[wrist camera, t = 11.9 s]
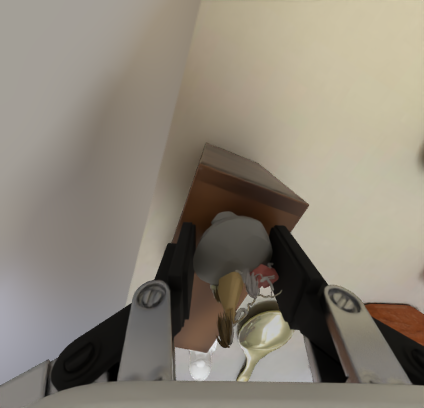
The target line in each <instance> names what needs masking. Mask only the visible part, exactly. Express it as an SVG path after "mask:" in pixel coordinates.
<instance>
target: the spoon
mask: <svg viewBox="0 0 424 408" xmlns="http://www.w3.org/2000/svg"><path fill="white" fill-rule="evenodd" d="M293 332H294V330H290V327H289V325H288V322H285V321H284V319H283V317H282V314H281V311H278V310H277V311H266V312H263V313H260V314H257V315H256V316H254V317H252V318H250V319H249V320H248V321H247V322H246V323H245V324H244V325H243V326H242V328H241V329H240V331H239V335H238V342H239V346H240V347H241V348H242V349H243V351H244V353H245V355H246V357H247V365H246V367H245V369H244V370H243V372H242V373H241V374H240V375H239V377H238V378H237V381H246V382H248V380H249V378H250V376H251V374H252V371H253V369H254V367H255V365H256V364H257V362H258V361H259V360H260V359H261V358H263V357H264V356H266V355H267V354H268V353H270V352H272V351H274V350H276V349H278V348H280V347H281V346H283V345H284V344H285V343H286V342H287V341H288V340H289V339H290V338H291V336H292V334H293Z"/></svg>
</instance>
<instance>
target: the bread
mask: <svg viewBox="0 0 424 408" xmlns="http://www.w3.org/2000/svg"><path fill="white" fill-rule="evenodd" d="M365 307H366V309H367V310H368V312H369V314H370V315H371V316H372V317H374V318H376V319H377V320H379V321H381V322H383V323H384V324H386V325H388V326H390V327H391V328H393V329H395V330H396V331H398V332H400V333H402V334H403V335H405V336H407V337H409V338H410V339H412V340H414V341H416V342H417V343H419V344H421V345H423V346H424V314H423V313H421V312H419V311H418V310H416V309H415V308H413V307H411V306H408V305H391V304H367V305H365Z"/></svg>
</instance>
